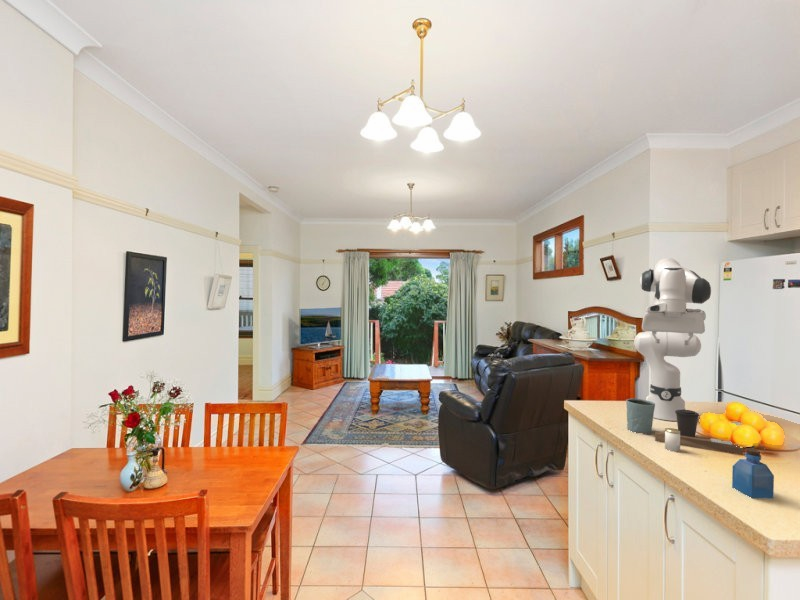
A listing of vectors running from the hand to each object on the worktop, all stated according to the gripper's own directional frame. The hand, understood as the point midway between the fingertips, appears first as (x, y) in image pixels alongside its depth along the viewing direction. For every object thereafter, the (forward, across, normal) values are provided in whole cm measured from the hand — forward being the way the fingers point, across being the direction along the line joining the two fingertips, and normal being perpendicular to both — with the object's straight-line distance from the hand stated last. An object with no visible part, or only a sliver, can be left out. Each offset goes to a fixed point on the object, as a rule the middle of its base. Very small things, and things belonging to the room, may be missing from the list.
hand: (671, 344), depth 158 cm
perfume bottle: (+41, -17, +36) cm, 57 cm away
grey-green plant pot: (+36, +10, -10) cm, 39 cm away
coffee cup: (+36, -6, -13) cm, 38 cm away
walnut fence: (+37, -8, 0) cm, 38 cm away
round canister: (+38, 0, +8) cm, 39 cm away
